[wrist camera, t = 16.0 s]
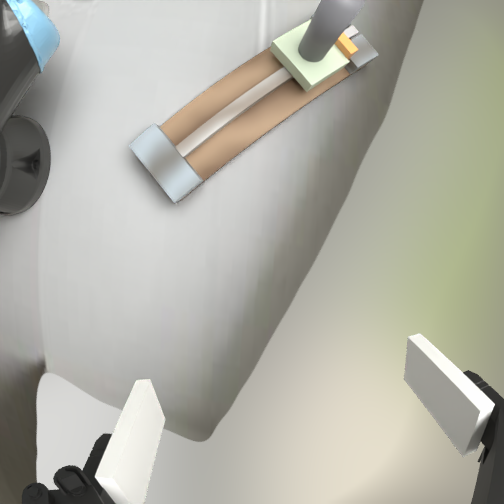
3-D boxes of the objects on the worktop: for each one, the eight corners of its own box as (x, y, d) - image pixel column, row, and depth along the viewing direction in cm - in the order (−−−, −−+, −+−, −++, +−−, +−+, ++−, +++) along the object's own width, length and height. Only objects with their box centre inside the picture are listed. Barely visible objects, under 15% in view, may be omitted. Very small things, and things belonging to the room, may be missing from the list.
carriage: (270, 50, 34) (289, -19, 18) (306, 29, 33) (342, -41, 18) (306, 92, 35) (348, 41, 20) (342, 69, 35) (397, 15, 19)
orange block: (309, 31, 33) (317, 16, 29) (338, 16, 33) (348, 1, 28) (339, 65, 34) (351, 53, 30) (367, 49, 34) (380, 36, 30)
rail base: (139, 148, 39) (128, 145, 35) (325, 18, 36) (334, 4, 31) (180, 200, 41) (174, 203, 36) (366, 64, 38) (378, 54, 33)
